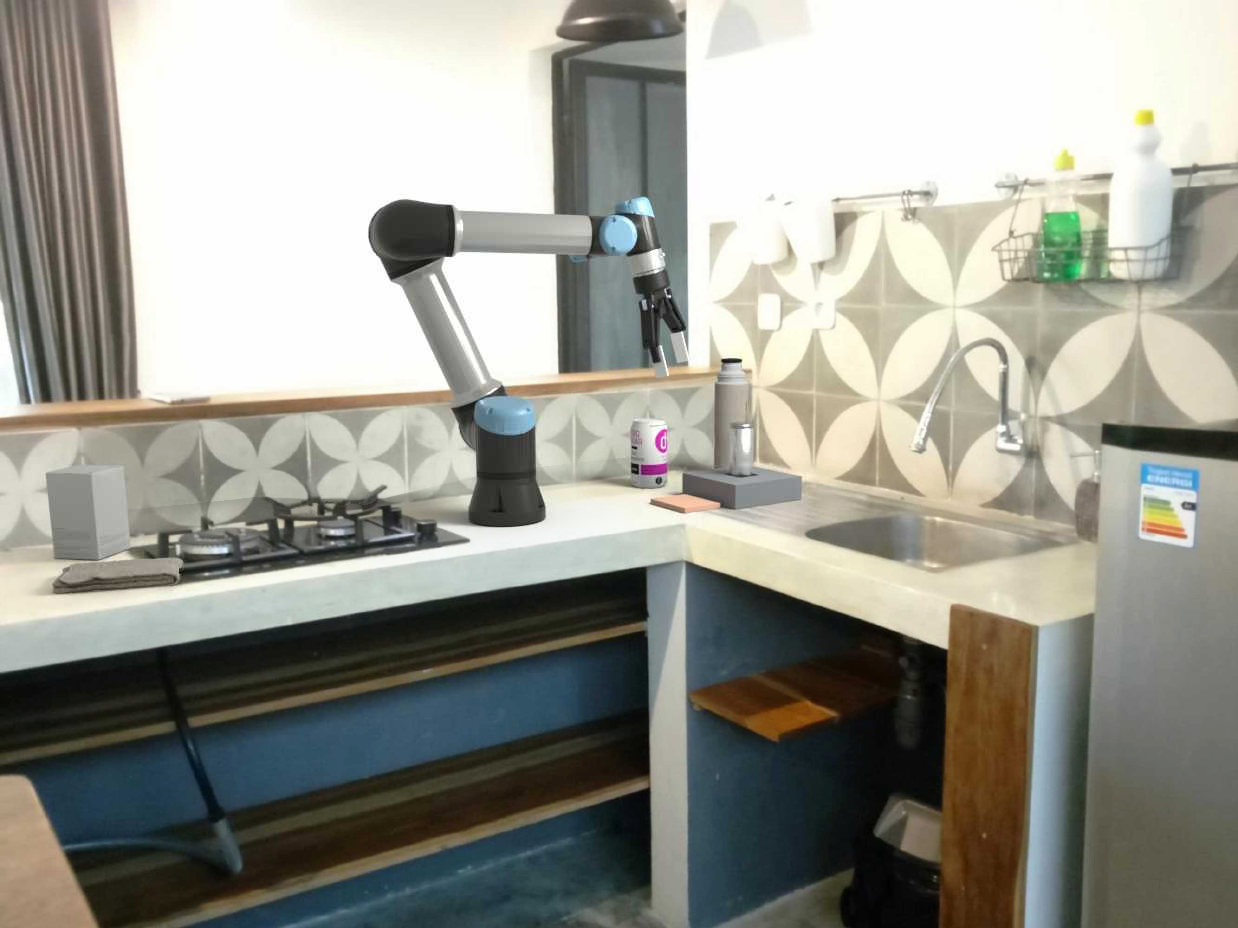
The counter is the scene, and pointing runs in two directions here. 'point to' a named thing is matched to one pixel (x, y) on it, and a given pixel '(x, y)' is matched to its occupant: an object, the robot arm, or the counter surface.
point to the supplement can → (649, 453)
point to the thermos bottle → (728, 407)
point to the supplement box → (88, 511)
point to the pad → (685, 503)
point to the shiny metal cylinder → (741, 449)
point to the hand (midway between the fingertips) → (673, 369)
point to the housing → (742, 487)
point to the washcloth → (118, 575)
